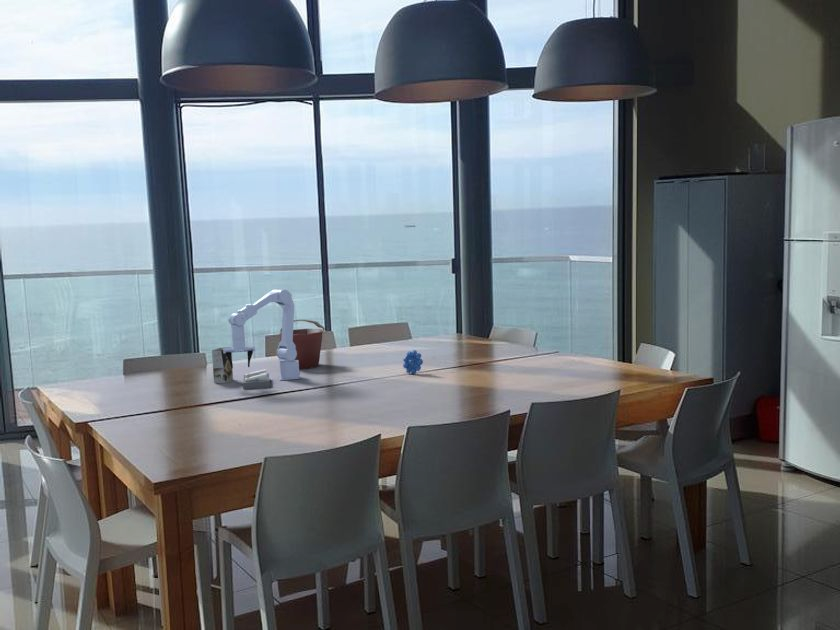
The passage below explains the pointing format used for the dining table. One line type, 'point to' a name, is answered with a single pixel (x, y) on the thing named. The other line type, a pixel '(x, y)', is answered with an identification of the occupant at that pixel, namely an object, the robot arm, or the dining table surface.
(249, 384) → the switch panel
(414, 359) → the blue lobed wheel
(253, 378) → the rocker
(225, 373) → the coffee box
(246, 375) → the rocker
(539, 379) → the dining table surface
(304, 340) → the bucket
